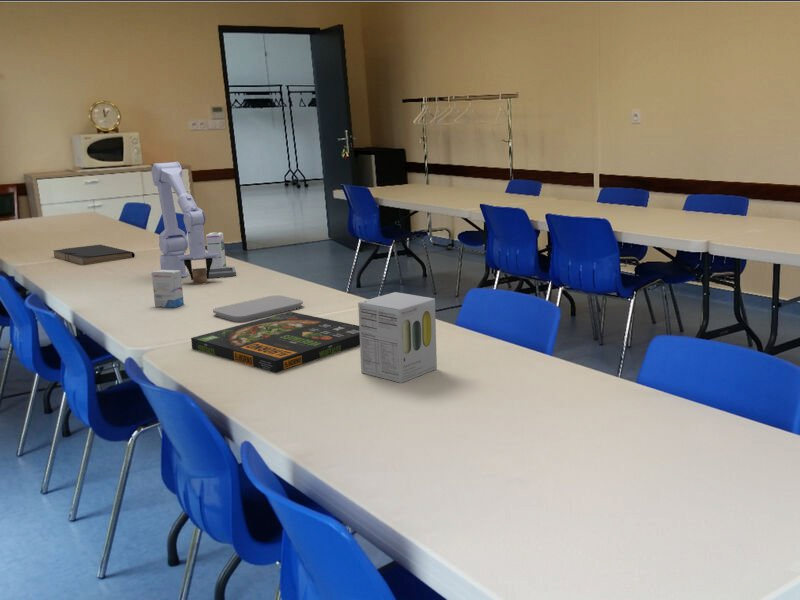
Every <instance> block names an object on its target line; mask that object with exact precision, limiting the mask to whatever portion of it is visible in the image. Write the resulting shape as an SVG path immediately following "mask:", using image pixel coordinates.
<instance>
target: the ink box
mask: <svg viewBox="0 0 800 600" xmlns="http://www.w3.org/2000/svg"><path fill="white" fill-rule="evenodd" d="M151 279H152V291H153V298H154V307H155V306H162V307H161V308H173V307H176V308H178V306H179V307H181V306H184V305H185V302H184V291H183V282H182V277H181V271H180V270H161V269H159V270H154V271H152V272H151ZM183 304H184V305H183Z"/></svg>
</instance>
